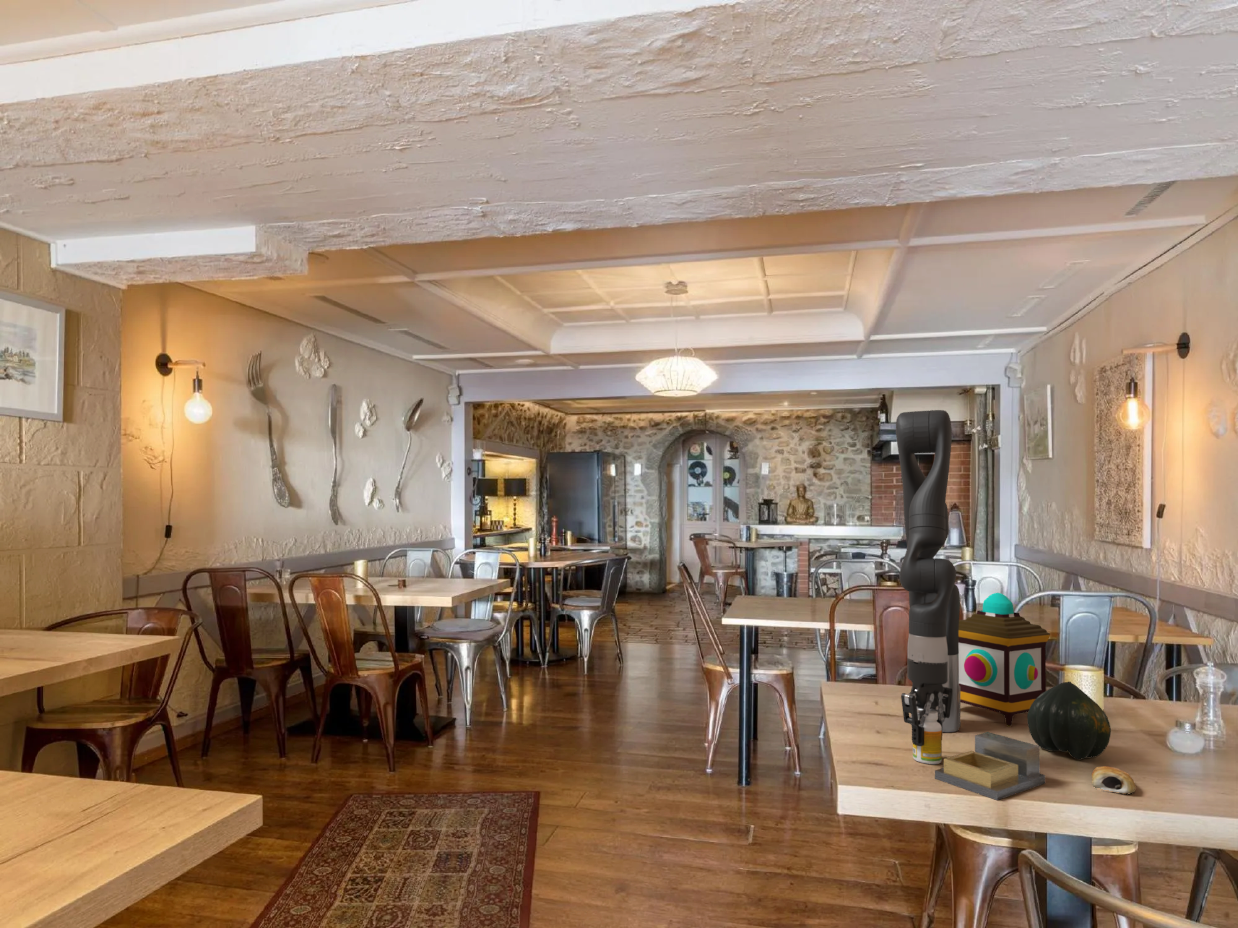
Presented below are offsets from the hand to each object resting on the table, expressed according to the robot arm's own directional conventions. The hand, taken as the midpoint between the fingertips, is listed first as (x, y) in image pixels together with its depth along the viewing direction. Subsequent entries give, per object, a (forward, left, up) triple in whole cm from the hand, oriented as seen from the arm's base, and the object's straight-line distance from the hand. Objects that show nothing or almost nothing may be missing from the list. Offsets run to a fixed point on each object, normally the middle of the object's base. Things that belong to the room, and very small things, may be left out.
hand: (927, 742), depth 151 cm
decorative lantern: (-47, -12, -4) cm, 49 cm away
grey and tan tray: (0, +13, -3) cm, 13 cm away
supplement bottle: (0, 0, -4) cm, 4 cm away
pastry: (-17, +26, -4) cm, 32 cm away
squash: (-31, +12, -4) cm, 33 cm away
